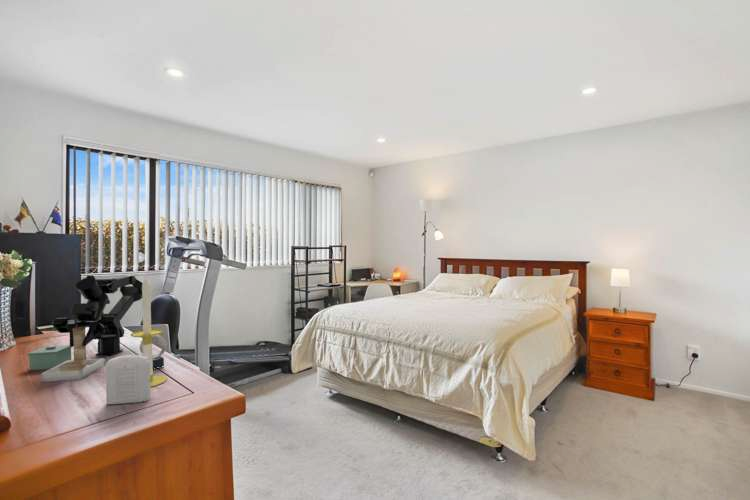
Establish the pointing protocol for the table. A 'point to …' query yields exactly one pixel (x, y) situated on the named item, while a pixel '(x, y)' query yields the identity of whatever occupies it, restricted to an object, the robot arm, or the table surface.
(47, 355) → the green lidded box
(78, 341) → the tan cylinder with block
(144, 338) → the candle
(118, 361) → the gravestone
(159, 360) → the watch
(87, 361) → the tray
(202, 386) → the table surface
